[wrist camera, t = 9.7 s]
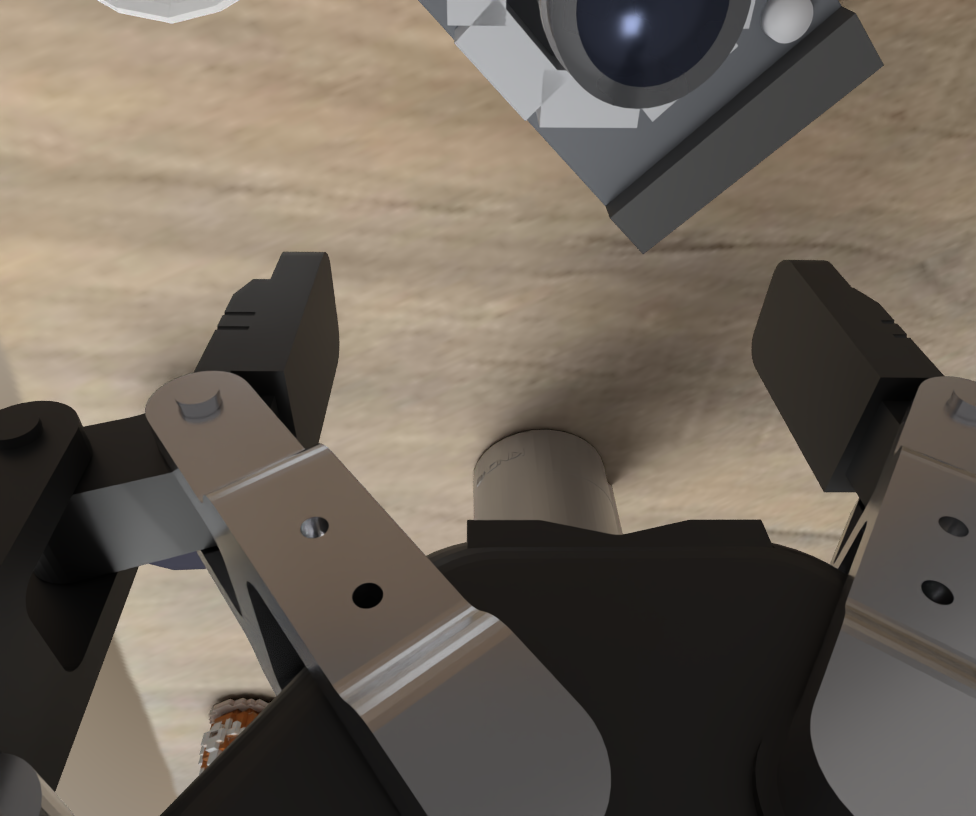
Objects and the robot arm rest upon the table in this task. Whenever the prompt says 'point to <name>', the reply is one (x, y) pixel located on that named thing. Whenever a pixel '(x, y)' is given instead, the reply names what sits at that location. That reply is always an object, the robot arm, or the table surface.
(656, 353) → the table surface
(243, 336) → the robot arm
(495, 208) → the table surface
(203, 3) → the cup
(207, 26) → the table surface
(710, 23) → the lens
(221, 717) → the decorative ornament
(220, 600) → the table surface
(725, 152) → the camera body
